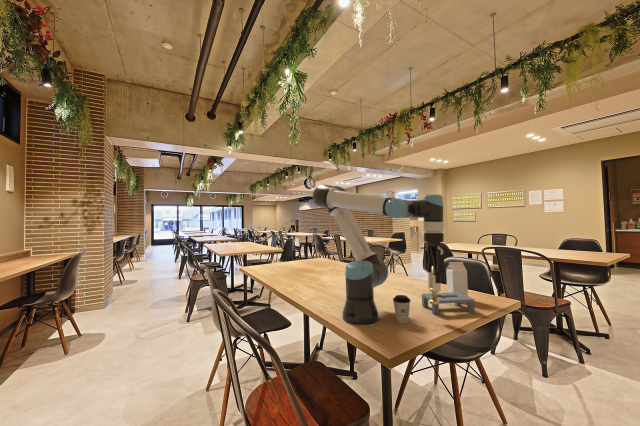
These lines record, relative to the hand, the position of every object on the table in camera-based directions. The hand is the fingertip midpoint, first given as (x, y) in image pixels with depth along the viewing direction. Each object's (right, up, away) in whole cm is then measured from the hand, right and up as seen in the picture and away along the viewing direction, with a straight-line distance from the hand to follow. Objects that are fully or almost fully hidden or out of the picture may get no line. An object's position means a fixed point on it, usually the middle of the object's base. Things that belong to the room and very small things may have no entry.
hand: (434, 289), depth 111 cm
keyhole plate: (+11, -13, +12) cm, 21 cm away
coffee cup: (-13, -13, -1) cm, 19 cm away
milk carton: (+23, -13, +27) cm, 38 cm away
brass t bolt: (0, -6, 0) cm, 6 cm away
